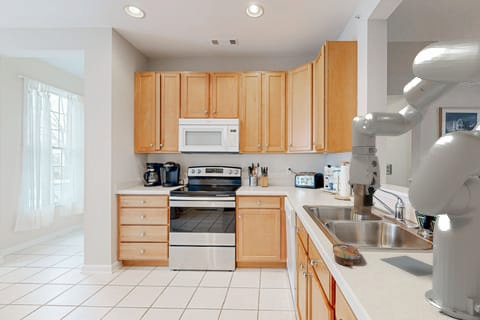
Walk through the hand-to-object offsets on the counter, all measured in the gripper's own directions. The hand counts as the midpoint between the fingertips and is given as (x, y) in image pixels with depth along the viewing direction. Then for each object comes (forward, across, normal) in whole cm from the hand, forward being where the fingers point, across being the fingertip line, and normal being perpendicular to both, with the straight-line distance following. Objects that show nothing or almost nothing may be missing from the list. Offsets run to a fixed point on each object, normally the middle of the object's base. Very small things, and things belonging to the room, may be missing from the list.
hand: (363, 204), depth 95 cm
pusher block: (+3, 0, 0) cm, 3 cm away
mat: (+19, -10, -10) cm, 24 cm away
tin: (+18, 0, +2) cm, 18 cm away
